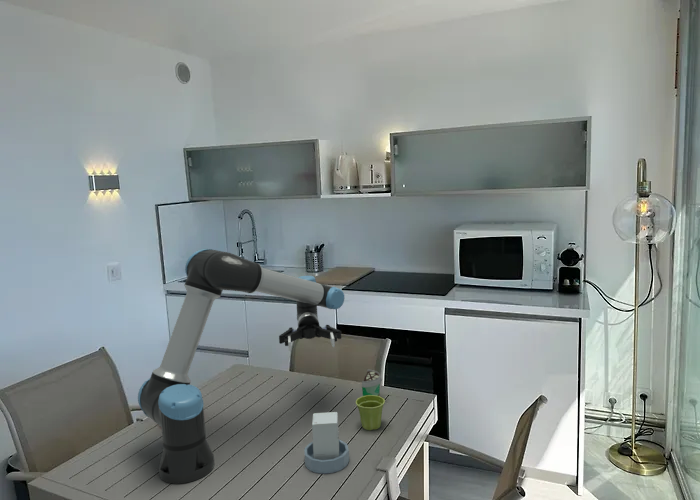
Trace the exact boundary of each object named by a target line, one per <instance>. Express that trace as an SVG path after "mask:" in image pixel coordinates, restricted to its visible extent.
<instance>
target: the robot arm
mask: <svg viewBox="0 0 700 500" xmlns="http://www.w3.org/2000/svg"><path fill="white" fill-rule="evenodd" d="M185 262H186V263H185V269H184V270H185V275H186V279H185V282H184V289H185V291H186V293H185V294H186V295H185V297H184V300H183V303H182V305H181V308H180V309H179V310H180V312H179V314H178V316H177V319H176V321H175V324H174V327H173V330H172V332H171V336H170V338H169V341H168V344H167V346H166V349H165V352H164V354H163V357H162V360H161V362H160V366H158V367H157V368H155V369H153V370H152V372H151V375H150V378H148V379H147V380H145V381H144V382H143V383H142V384H141V386H140V388H139V389H138V390H139V391H138V393H137V404H138V407H139V408H140V410H141V411H142V413H143V414H144V415H145V416H147V417H148V418H150V419H151V420H152V421H153V422H155V423H156V424H157V425H158V426H159V427H160V428H161V435H162V446H163V448H162V453H161V457H160V461H159V465H158V472H159V478H160V479H161V480H162V481H163V482H166V483H169V484H174V485H175V484H176V485H177V484H179V485H180V484H187V483H190V482H194V481H198V480H199V479H201V478H204V477H205V476H207V475H208V474H209V473H210V472H211V471H212V470H213V469H214V467H215V455H214V453H213V451H212V449H211V446H210V445H209V442H208V440H207V437H206V435H207V434H206V424H205V411H204V404H205V403H204V399H203V395H202V392H201V390H200V388H198V387H197V386H195V385H193V384H191V379H190V377H189V371H190V369H191V365H192V363H193V361H194V358H195V354H196V351H197V348H198V346H199V343H200V341H201V337H202V335H203V332H204V329H205V326H206V323H207V322H208V319H209V316H210V312H211V310H212V307H213V305H214V301H215V300H217V299H218V298H221V296H222V293H223V291H230V292H231V291H232V292H233V291H235V292H243V293H248V294H254V293H255V292H258V293H261V294H262V293H263V294H266V295H271V296H275V297H279V298H284V299H288V300H292V301H296V320H297V328H296V329H294V327H289V328H288V329H287V330H285V331H284V332H282V333H281V334H279V335H278V341H279V344H284V345H285V347H288V351H289V352H290V351H292V342H295V341H297V340H302V339H308V340H310V339H311V340H312V339H314V338H319V339H320V338H324V339H329V340H330V345H331V346H332V348H335V345H336V344H335V343H337V342H338V340H342V330H340V329H338V328H335V327H332V326H330V324H326V325H325V326H324V327H322V326H320V322H319V318H318V316H319V315H318V307H321V308H326V309H329V310H338V309H341V307H342V306H343V304H344V302H345V294H344V293H345V292H344V291H343V290H342V289H341V288H338V287H336V286H331V285H330V286H329V285H326V284H323V283H318V282H317V281H316V277H315V276H313V275H301V276H298V277H297V276H293V275H291V274H290V275H289V274H286V273H283V272H279V271H276V270H272V269H268V268H265V267H262V265H261V264H260V263H258V262H254V261H252V260H249V259H246V258H244V257H242V256H239V255H237V254H234V253H232V252H228V251H221V250H217V249H212V248H205V249H199V250H197V251H195V252H193V253H192V254H191V255H190V256H189V257H188V259H187V261H185ZM189 384H190V385H189Z"/></svg>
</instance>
